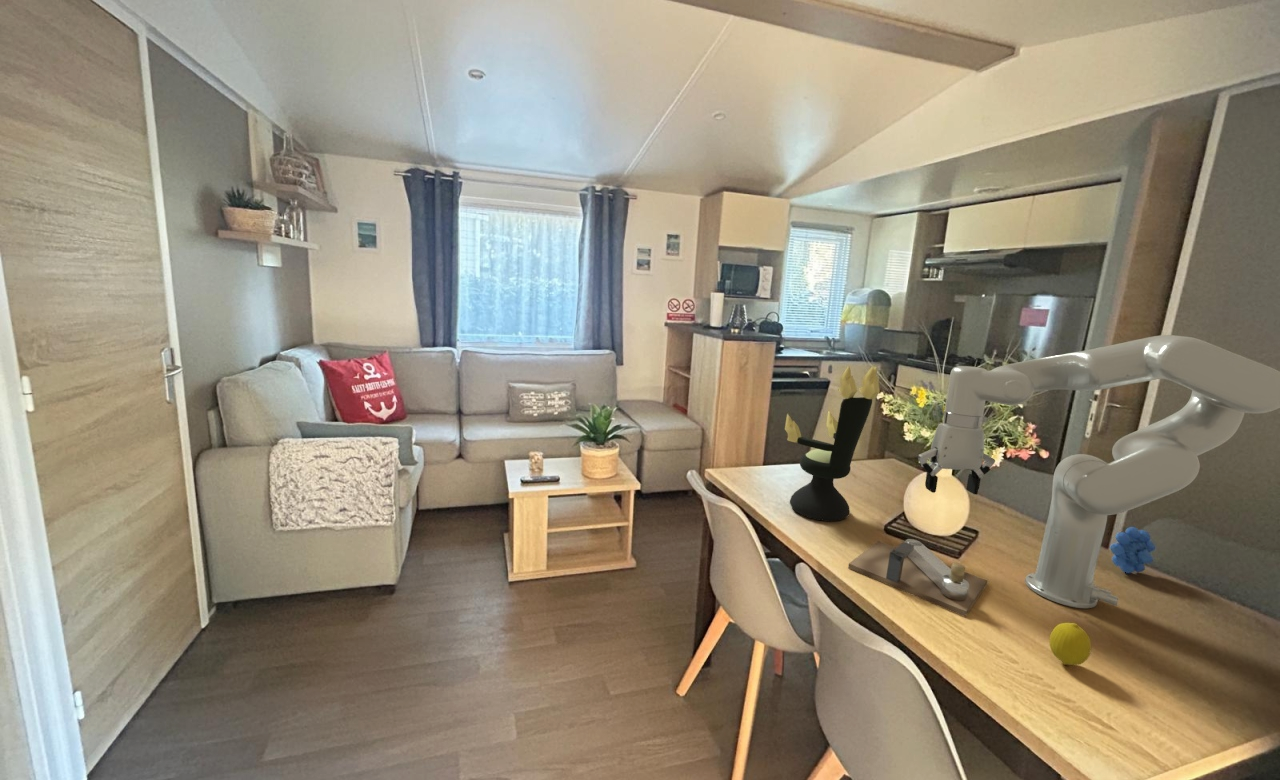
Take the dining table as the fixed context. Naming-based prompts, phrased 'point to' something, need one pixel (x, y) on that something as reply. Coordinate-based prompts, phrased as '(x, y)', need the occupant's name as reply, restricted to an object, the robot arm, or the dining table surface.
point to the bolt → (937, 571)
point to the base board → (917, 578)
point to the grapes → (1132, 550)
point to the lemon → (1070, 644)
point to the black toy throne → (833, 451)
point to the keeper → (898, 561)
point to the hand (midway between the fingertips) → (951, 491)
